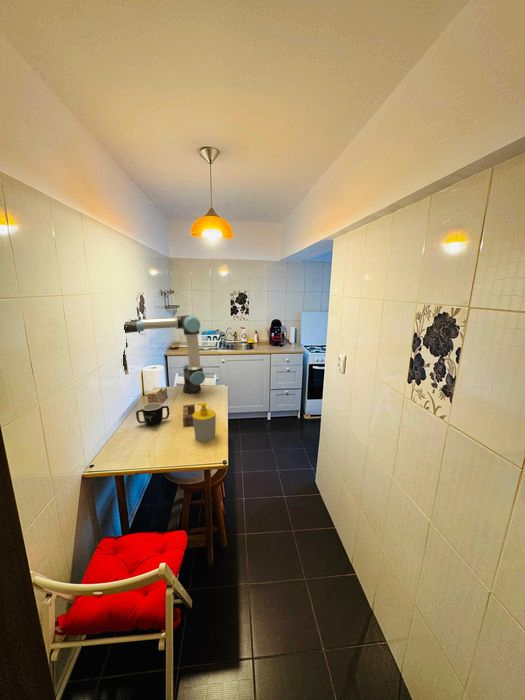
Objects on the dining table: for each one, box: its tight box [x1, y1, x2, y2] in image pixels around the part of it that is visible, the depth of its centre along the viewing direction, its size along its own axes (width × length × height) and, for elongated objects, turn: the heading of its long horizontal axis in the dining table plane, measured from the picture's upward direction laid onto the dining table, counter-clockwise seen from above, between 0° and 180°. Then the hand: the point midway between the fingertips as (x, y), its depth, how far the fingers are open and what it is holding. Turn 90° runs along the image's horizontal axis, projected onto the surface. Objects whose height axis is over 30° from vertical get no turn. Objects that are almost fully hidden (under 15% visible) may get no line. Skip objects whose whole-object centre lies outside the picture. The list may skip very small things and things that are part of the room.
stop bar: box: [182, 404, 196, 428], centre depth 183 cm, size 20×8×6 cm, turn 15°
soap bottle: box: [192, 402, 217, 444], centre depth 159 cm, size 13×13×21 cm
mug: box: [135, 403, 170, 427], centre depth 177 cm, size 16×16×12 cm
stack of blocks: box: [147, 386, 169, 405], centre depth 209 cm, size 21×6×12 cm, turn 179°
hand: (125, 372), depth 194 cm, fingers open, 13 cm apart
